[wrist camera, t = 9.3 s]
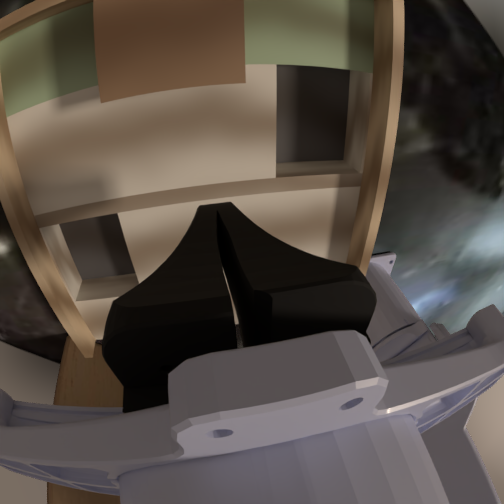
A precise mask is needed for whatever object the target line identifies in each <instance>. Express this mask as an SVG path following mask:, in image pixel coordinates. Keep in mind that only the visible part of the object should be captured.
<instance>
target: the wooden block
mask: <svg viewBox="0 0 504 504" xmlns="http://www.w3.org/2000/svg"><path fill="white" fill-rule="evenodd" d="M53 405H61V406H78V407H123V385H122V384H121V383H120V381H119V380H118V379H117V377H116V376H115V375H114V373H113V372H112V370H111V369H110V368H109V366H108V365H107V363H106V362H105V360H104V358H103V355H102V345H101V344H98V343H95V347H94V353H93V357H92V358H85V357H84V355H83V354H82V353H81V351H80V350H79V349H78V347H77V346H76V344H75V343H74V341H73V340H72V339H71V337H70V336H69V335H68V336H67V338H66V342H65V346H64V350H63V355H62V359H61V364H60V369H59V374H58V379H57V385H56V390H55V397H54V403H53ZM47 504H120V496H117V495H109V494H103V493H96V492H90V491H85V490H80V489H75V488H71V487H66V486H62V485H58V484H54V483H50V482H47Z"/></svg>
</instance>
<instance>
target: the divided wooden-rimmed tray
mask: <svg viewBox="0 0 504 504" xmlns="http://www.w3.org/2000/svg"><path fill="white" fill-rule="evenodd" d="M244 30H245V71H246V83H239V84H222V85H209V86H199V87H190V88H181V89H174V90H167V91H160V92H154V93H148V94H143V95H137V96H132V97H127V98H122V99H118V100H113V101H109V102H105V103H101V102H100V94H99V86H98V77H97V67H96V55H95V41H94V18H93V0H36V1H34V2H32V3H30V4H28V5H26V6H24V7H22V8H20V9H18V10H16V11H14V12H12V13H10V14H8V15H7V16H5V17H3V18H1V19H0V201H1V203H2V206H3V209H4V211H5V214H6V217H7V219H8V222H9V224H10V227H11V229H12V231H13V234H14V236H15V238H16V241H17V243H18V245H19V247H20V249H21V251H22V254H23V256H24V258H25V260H26V262H27V264H28V266H29V268H30V270H31V272H32V274H33V276H34V277H35V279H36V281H37V283H38V285H39V287H40V288H41V290H42V292H43V294H44V296H45V297H46V299H47V301H48V302H49V304H50V306H51V307H52V309H53V311H54V312H55V314H56V316H57V317H58V319H59V320H60V322H61V323H62V325H63V327H64V328H65V330H66V331H67V333H68V334H69V336H70V337H71V339H72V340H73V341H74V343H75V344H76V346H77V347H78V349H79V350H80V351H81V353H82V354H83V355H84V357H85V358H92V357H93V353H94V347H95V341H96V340H99V339H103V335H104V329H105V324H106V320H107V316H108V313H109V310H110V308H111V305H112V302H113V300H115V299H117V298H118V297H120V296H121V295H123V294H125V293H126V292H128V291H129V290H131V289H132V288H134V287H135V286H137V285H138V284H139V283H141V282H142V281H143V280H145V279H146V278H147V277H148V276H150V275H151V274H152V273H153V272H154V271H155V270H156V269H157V268H158V267H159V266H160V265H161V264H162V263H163V262H164V261H166V260H167V258H168V257H169V256H170V255H171V254H172V252H173V251H174V250H175V248H176V247H177V246H178V244H179V243H180V241H181V240H182V238H183V236H184V235H185V233H186V232H187V230H188V228H189V226H190V224H191V222H192V220H193V218H194V216H195V213H196V211H197V208H198V207H199V205H206V204H214V203H223V202H232V203H233V204H234V205H235V206H236V207H237V208H238V209H239V210H240V211H241V212H242V213H243V214H244V215H246V216H247V217H248V218H249V219H250V220H251V221H253V222H254V223H255V224H256V225H258V226H259V227H260V228H262V229H263V230H265V231H266V232H267V233H269V234H271V235H272V236H274V237H276V238H278V239H279V240H281V241H283V242H285V243H287V244H289V245H291V246H293V247H295V248H298V249H300V250H302V251H305V252H307V253H310V254H313V255H316V256H319V257H322V258H325V259H329V260H332V261H337V262H341V263H346V264H350V265H355V266H357V267H358V268H359V269H360V271H361V272H362V273H363V274H364V276H366V273H367V269H368V266H369V262H370V259H371V255H372V251H373V247H374V244H375V240H376V236H377V232H378V228H379V223H380V219H381V215H382V210H383V206H384V201H385V196H386V191H387V186H388V181H389V176H390V170H391V165H392V159H393V153H394V146H395V140H396V133H397V125H398V117H399V108H400V99H401V88H402V74H403V57H404V0H244ZM223 272H224V270H223ZM224 276H225V274H224ZM225 279H226V277H225ZM226 283H227V280H226ZM227 286H228V284H227ZM228 290H229V287H228ZM229 293H230V290H229ZM230 296H231V294H230ZM231 301H232V306H233V311H234V319H235V324H239V323H238V318H237V314H236V310H235V307H234V303H233V300H232V297H231Z"/></svg>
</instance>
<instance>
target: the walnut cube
mask: <svg viewBox="0 0 504 504" xmlns="http://www.w3.org/2000/svg"><path fill="white" fill-rule="evenodd" d="M93 18H94V41H95V55H96V67H97V77H98V86H99V94H100V102H101V103H105V102H109V101H113V100H118V99H122V98H127V97H132V96H137V95H143V94H148V93H154V92H160V91H167V90H174V89H181V88H190V87H199V86H209V85H222V84H239V83H246V71H245V30H244V0H93Z"/></svg>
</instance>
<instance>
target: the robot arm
mask: <svg viewBox="0 0 504 504" xmlns="http://www.w3.org/2000/svg"><path fill="white" fill-rule="evenodd" d="M395 259H396V255H395V253H393V252H392V253H386V254H380V255H374V256H371V259H370V262H369V266H368V269H367V273H366V276H364V274H363V273H362V272H361V271H360V269H359V268H358V267H357V266H355V265H350V264H346V263H341V262H337V261H332V260H329V259H325V258H322V257H319V256H316V255H313V254H310V253H307V252H305V251H302V250H300V249H298V248H295V247H293V246H291V245H289V244H287V243H285V242H283V241H281V240H279V239H278V238H276V237H274V236H272V235H271V234H269V233H267V232H266V231H265V230H263V229H262V228H260V227H259V226H258V225H256V224H255V223H254V222H253V221H251V220H250V219H249V218H248V217H247V216H246V215H244V214H243V213H242V212H241V211H240V210H239V209H238V208H237V207H236V206H235V205H234V204H233V203H232V202H223V203H214V204H206V205H199V207H198V208H197V211H196V213H195V216H194V218H193V220H192V222H191V224H190V226H189V228H188V230H187V232H186V233H185V235H184V236H183V238H182V240H181V241H180V243H179V244H178V246H177V247H176V248H175V250H174V251H173V252H172V254H171V255H170V256H169V257H168V258H167V260H166V261H164V262H163V263H162V264H161V265H160V266H159V267H158V268H157V269H156V270H155V271H154V272H153V273H152V274H151V275H150V276H148V277H147V278H146V279H145V280H143V281H142V282H141V283H139V284H138V285H137V286H135V287H134V288H132V289H131V290H129V291H128V292H126V293H125V294H123V295H121V296H120V297H118V298H117V299H115V300H113V302H112V305H111V308H110V310H109V313H108V316H107V320H106V324H105V329H104V335H103V340H102V355H103V358H104V360H105V362H106V363H107V365H108V366H109V368H110V369H111V370H112V372H113V373H114V375H115V376H116V377H117V379H118V380H119V381H120V383H121V384H122V385H123V407H78V406H61V405H48V404H37V403H28V402H22V401H15V400H13V399H12V398H11V397H10V396H9V395H8V394H7V393H6V392H5V391H3V390H2V389H0V466H2V467H4V468H6V469H8V470H10V471H13V472H16V473H19V474H22V475H25V476H29V477H32V478H35V479H39V480H43V481H46V482H50V483H54V484H58V485H62V486H66V487H71V488H75V489H80V490H85V491H90V492H96V493H103V494H109V495H117V496H120V504H501V502H500V499H499V497H498V494H497V492H496V489H495V487H494V485H493V482H492V480H491V478H490V475H489V473H488V471H487V469H486V467H485V465H484V462H483V460H482V458H481V456H480V454H479V452H478V450H477V448H476V446H475V444H474V442H473V440H472V438H471V436H470V434H469V432H468V430H467V428H466V425H467V423H468V420H469V418H470V416H471V414H472V411H473V409H474V407H475V404H476V402H477V399H478V396H480V395H481V394H482V393H484V392H485V391H487V390H488V389H489V388H491V387H492V386H493V385H494V384H495V383H496V382H497V381H498V380H499V379H500V378H501V377H502V376H503V375H504V317H503V315H502V314H501V313H500V311H499V310H498V309H497V308H496V306H495V305H494V304H492V305H490V306H488V307H486V308H484V309H481V310H479V311H478V312H476V313H475V314H474V315H473V316H472V318H471V319H470V321H469V322H468V324H467V326H466V328H464V329H462V330H460V331H458V332H456V333H453V334H451V335H450V334H449V332H448V331H447V329H446V328H445V327H444V326H443V324H438V323H437V324H436V323H432V324H431V325H430V328H431V329H432V331H433V332H434V334H435V337H436V339H437V340H438V341H437V340H436V339H435V337H434V336H433V334H432V333H431V331H430V330H429V328H428V327H427V326H426V324H425V323H424V321H423V320H422V319H421V318H420V317H419V315H418V314H417V313H416V311H415V310H414V308H413V307H412V305H411V304H410V303H409V301H408V300H407V298H406V297H405V296H404V294H403V293H402V292H401V290H400V289H399V287H398V286H397V285H396V283H395V282H394V281H393V279H392V278H391V277H390V274H391V271H392V268H393V265H394V262H395ZM223 270H224V272H223ZM224 274H225V276H224ZM225 277H226V279H225ZM226 280H227V283H226ZM227 284H228V286H227ZM228 287H229V290H230V293H229V290H228ZM230 294H231V296H230ZM231 297H232V300H233V303H234V307H235V310H236V314H237V318H238V323H239V328H240V333H241V338H242V343H243V348H239V349H238V348H237V339H236V329H235V319H234V311H233V306H232V301H231Z"/></svg>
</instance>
